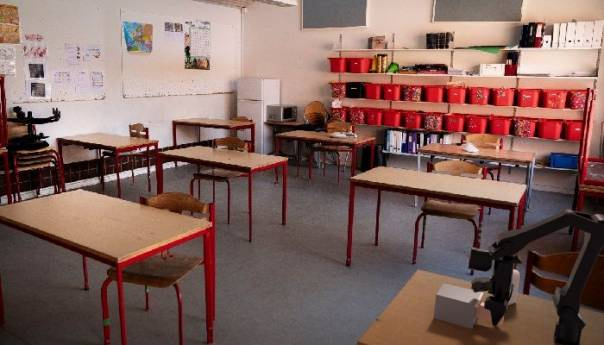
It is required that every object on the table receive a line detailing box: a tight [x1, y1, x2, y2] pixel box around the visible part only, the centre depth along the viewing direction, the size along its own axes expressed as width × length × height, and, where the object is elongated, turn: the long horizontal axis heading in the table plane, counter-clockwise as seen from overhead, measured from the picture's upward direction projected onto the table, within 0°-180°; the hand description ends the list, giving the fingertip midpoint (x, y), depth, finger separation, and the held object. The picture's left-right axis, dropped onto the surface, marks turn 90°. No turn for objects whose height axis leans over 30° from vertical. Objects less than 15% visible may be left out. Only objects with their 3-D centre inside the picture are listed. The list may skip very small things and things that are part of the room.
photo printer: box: [491, 269, 521, 306], centre depth 171 cm, size 10×4×12 cm, turn 123°
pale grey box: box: [433, 283, 485, 330], centre depth 161 cm, size 13×10×8 cm
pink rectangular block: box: [475, 301, 505, 326], centre depth 158 cm, size 16×2×5 cm, turn 61°
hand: (496, 320), depth 156 cm, fingers open, 7 cm apart
